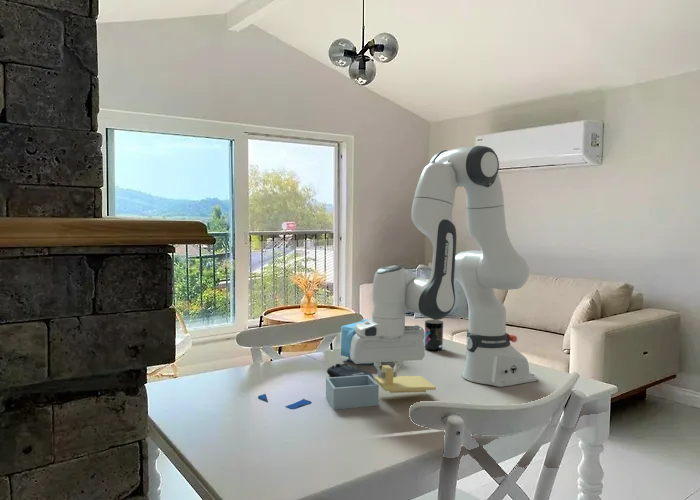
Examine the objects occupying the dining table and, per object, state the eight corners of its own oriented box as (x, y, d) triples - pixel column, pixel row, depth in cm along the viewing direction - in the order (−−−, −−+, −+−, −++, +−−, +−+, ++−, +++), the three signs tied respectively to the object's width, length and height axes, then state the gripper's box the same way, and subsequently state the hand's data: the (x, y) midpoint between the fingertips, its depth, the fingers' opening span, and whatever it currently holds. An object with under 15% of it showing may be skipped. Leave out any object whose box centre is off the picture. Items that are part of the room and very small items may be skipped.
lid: (420, 382, 152) (422, 362, 152) (435, 393, 143) (436, 372, 142) (373, 382, 149) (375, 362, 148) (385, 394, 139) (386, 372, 139)
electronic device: (324, 382, 165) (356, 388, 153) (325, 364, 166) (356, 368, 154) (347, 380, 171) (380, 385, 159) (348, 362, 172) (380, 366, 160)
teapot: (361, 368, 174) (361, 326, 173) (335, 362, 181) (335, 321, 180) (399, 354, 191) (400, 316, 190) (374, 349, 198) (374, 312, 197)
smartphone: (277, 389, 151) (313, 402, 141) (277, 393, 151) (313, 405, 141) (256, 396, 146) (292, 409, 136) (256, 399, 146) (292, 413, 136)
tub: (368, 396, 148) (368, 374, 148) (378, 407, 139) (378, 385, 139) (325, 399, 145) (326, 377, 145) (333, 411, 136) (333, 388, 136)
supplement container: (429, 346, 203) (429, 319, 203) (445, 348, 200) (446, 321, 199) (421, 349, 198) (421, 322, 197) (438, 352, 194) (438, 324, 193)
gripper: (420, 322, 149) (418, 371, 150) (348, 325, 144) (348, 376, 145) (429, 327, 143) (427, 378, 144) (355, 330, 138) (354, 383, 139)
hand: (387, 377), depth 144 cm, fingers closed on lid, 2 cm apart
